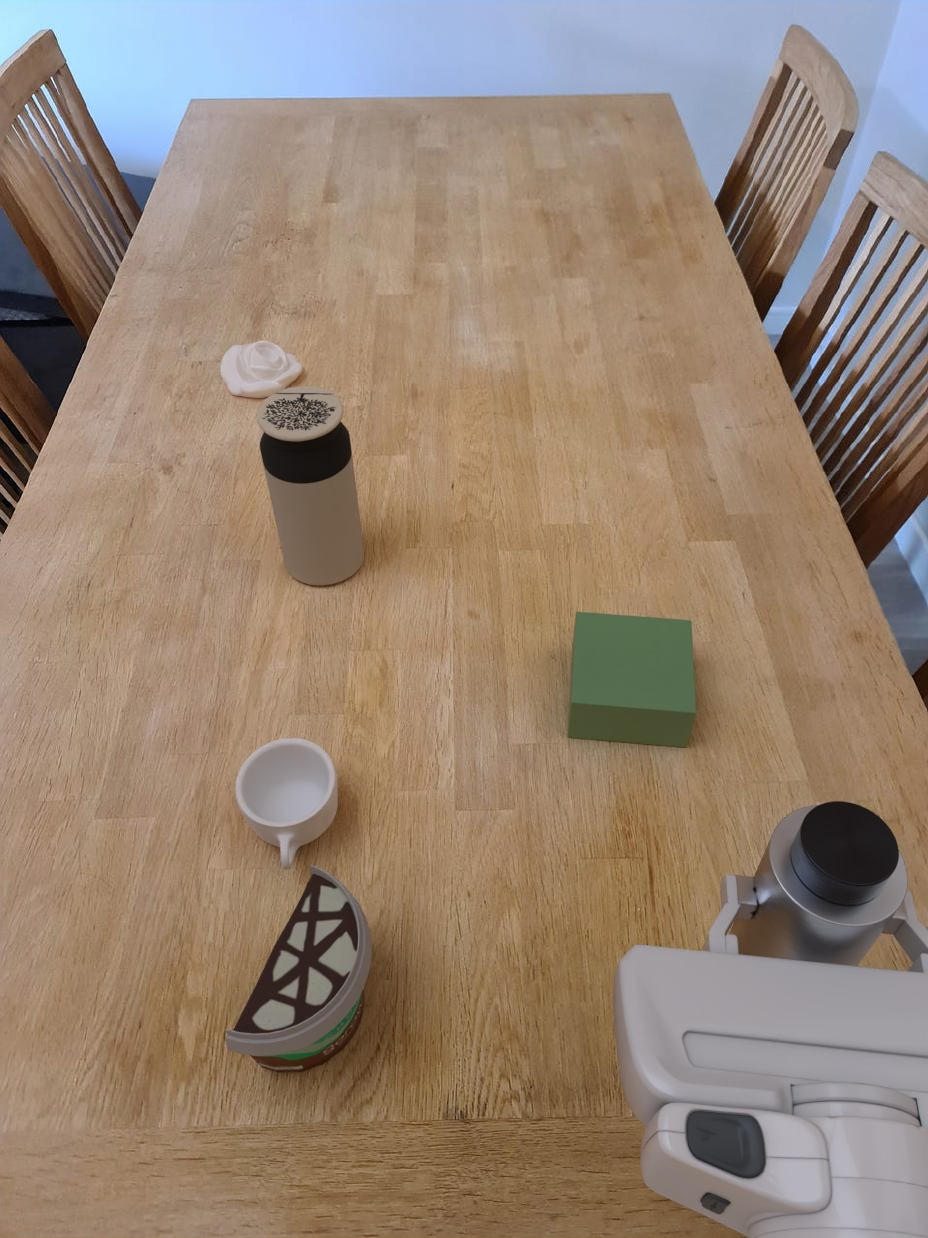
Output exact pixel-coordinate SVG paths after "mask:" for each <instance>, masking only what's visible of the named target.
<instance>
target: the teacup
mask: <svg viewBox="0 0 928 1238" xmlns="http://www.w3.org/2000/svg"><path fill="white" fill-rule="evenodd" d="M234 787H235V793H234V794H235V800H236V804H237V807H238V810H239V812H240V814H241V815H242V817H243V819H244V821H245V823H246V825H247V826H248V827H249V828H250V829H251V831H252V832H253V833H255V835H256V836H257V837H259V838H260V839H261V840H262V841H264V842H265V843H267V844H269V845H272V846H276V847H279V850H280V851H279V852H280V862H281V863H280V864H281V867H282V869H283V870H285V871H289V870H291V869H292V866H293V864H294V863H293V862H294V860H295V856H296V853H297V851H298V850H299V848H300V847H302V846H304V845H307V844H309V843H311V842H313V841H315V840H317V839H318V838H319V837H320V836H322V835H323V834H324V833H325V832H326V831H327V830H328V829H329V827H330V826H331V825H332V823H333V821H334V820H335V817H336V815H337V811H338V802H339V801H338V794H339V793H338V792H339V788H338V787H339V786H338V773H337V769H336V767H335V764H334V763H333V760H332V759H331V757H330V756H329V754H328V753H327V752H326V751H325V750H324V748H322V747H321V746H319V745H318V744H317V743H315V742H313V741H310V740H308V739H305V738H298V737H284V738H279V739H275V740H271V741H270V742H267V743H265V744H263V745H262V746H260V747H258V748H257V749H256V750H254V751H253V752H252V753H251V754H250V755H249V756H248V757H246V759H245V761H244V762H243V763H242V765H241V767H240V769H239V771H238V774H237V776H236V780H235V786H234Z"/></svg>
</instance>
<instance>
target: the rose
mask: <svg viewBox="0 0 928 1238" xmlns="http://www.w3.org/2000/svg"><path fill="white" fill-rule="evenodd" d="M219 366H220V367H219V368H220V369H219V371H220V376H221V378H222V380H223V382H224V383H225V386H226V388H227V390H228V391H229V393H230V395H232V396H235V397H242V398H250V399H264V398H265V399H266V398H268V397H269V396H271V395H272V394H274V393H276V392H278V391H281V390H284V389H287V388H288V386H289V385H291V384H293V383H295V382H296V380H297V379H298V378H299V376H300V375H301V374H302V372H303V365H302V363H301V362H299V361H298V359H297V357H296V356H295V355H294V354H293V353H289V352H288V353H286V352H285V350H284V349H283V348H282V347H281V346H280V345H279V344H275V343H273V342H272V341H269V340H265V339H264V340H263V339H262V340H258V341H255V342H250V343H246V344H233V345H232V346H231V347H229V349H227V351H226V352H225V353H224V354H223V356H222V358H221V361H220V365H219Z"/></svg>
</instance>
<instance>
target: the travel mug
mask: <svg viewBox="0 0 928 1238" xmlns="http://www.w3.org/2000/svg"><path fill="white" fill-rule="evenodd" d="M344 413H345V411H344V404H343V402H342V400H341V399H340V398H339V397H338V396H337V395H336V394H335V393H333V392H332V391H330V390H328V389H326V388H322V387H318V386H312V385H300V386H292V387H286V388H285V389H284V390H281V391H278V392H276V393H274V394H272V395H271V396H269V397H265V399H264V400H263V401H262V402H261V403H260V404H259V406H258V408H257V411H256V423H257V425H258V427H259V428H260V430H261V431H262V435H261V438H260V441H259V451H260V456H261V460H262V464H263V470H264V474H265V478H266V484H267V488H268V492H269V498H270V502H271V507H272V511H273V516H274V522H275V525H276V530H277V535H278V539H279V544H280V549H281V554H282V558H283V563H284V567H285V569H286V571H287V573H289V575H290V576H292V578H294V579H295V580H297V581H298V582H301V583H303V584H307V585H312V586H330V585H335V584H338V583H340V582H343V581H345V580H347V579H349V578H351V577H352V576H353V575H354V574H356V573H357V571H358V570H359V569H360V568H361V566H362V565H363V563H364V560H365V547H364V538H363V531H362V523H361V515H360V507H359V506H360V505H359V499H358V492H357V491H358V490H357V483H356V476H355V475H356V473H355V467H354V460H353V451H352V443H351V435H350V432H349V430H348V428H347V426H346V425H345V424H344V423H343V422H342V419H343V418H344Z"/></svg>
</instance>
